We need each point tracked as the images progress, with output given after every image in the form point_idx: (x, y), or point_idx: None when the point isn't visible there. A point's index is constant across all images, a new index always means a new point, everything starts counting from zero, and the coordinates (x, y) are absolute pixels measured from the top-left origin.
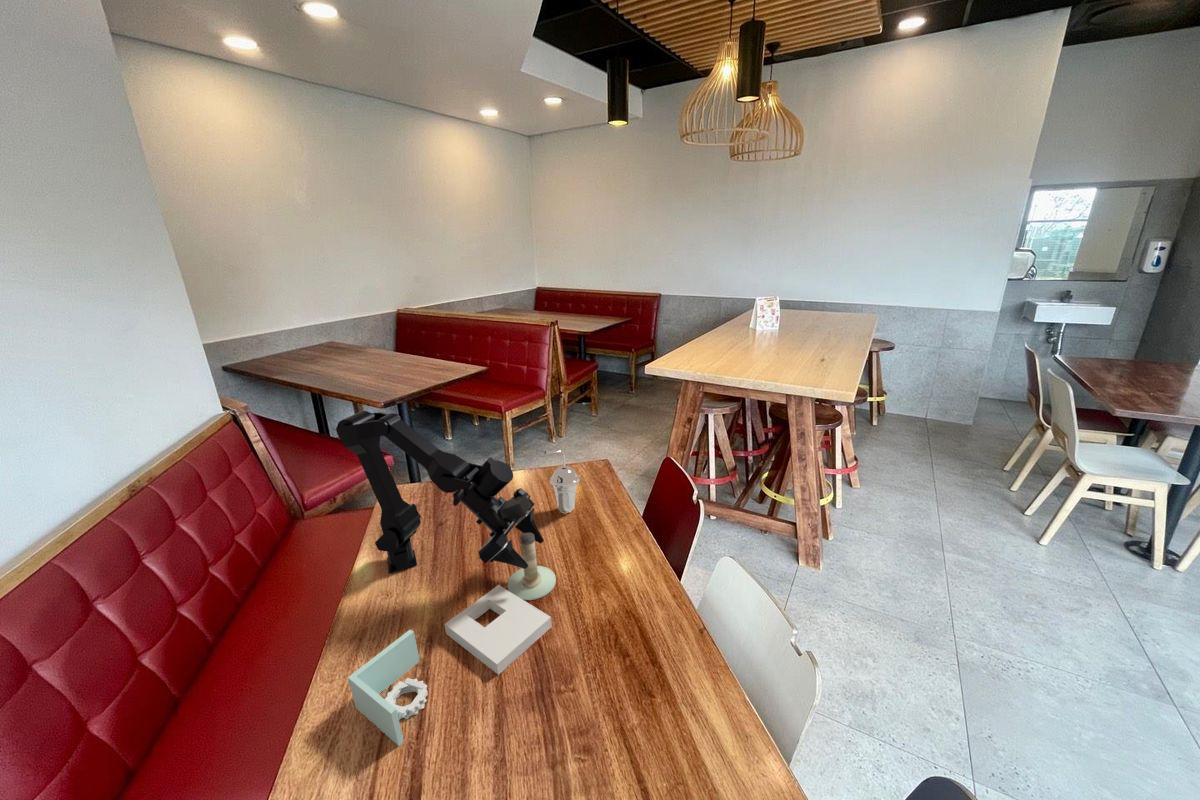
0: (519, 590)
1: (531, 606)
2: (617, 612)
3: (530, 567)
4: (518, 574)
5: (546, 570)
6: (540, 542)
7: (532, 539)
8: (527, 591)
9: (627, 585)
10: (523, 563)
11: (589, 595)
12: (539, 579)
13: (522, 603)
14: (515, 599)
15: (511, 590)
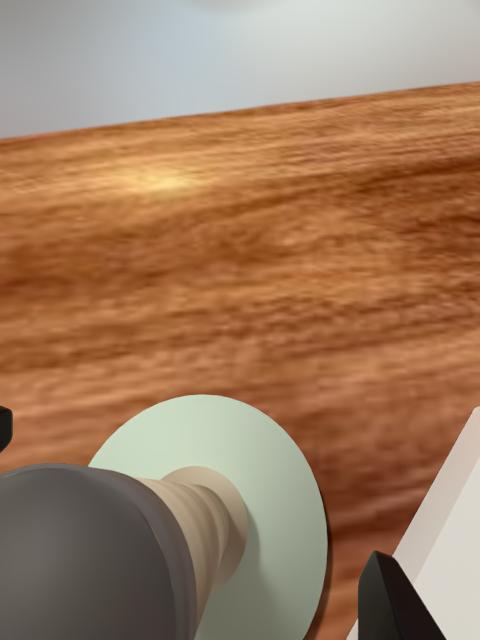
0: (263, 604)
1: (466, 505)
2: (369, 211)
3: (223, 532)
4: None
5: (126, 443)
6: (3, 440)
7: (143, 499)
8: (274, 546)
9: (256, 182)
10: (434, 628)
11: (296, 277)
12: (215, 473)
13: (453, 570)
14: None
15: None
